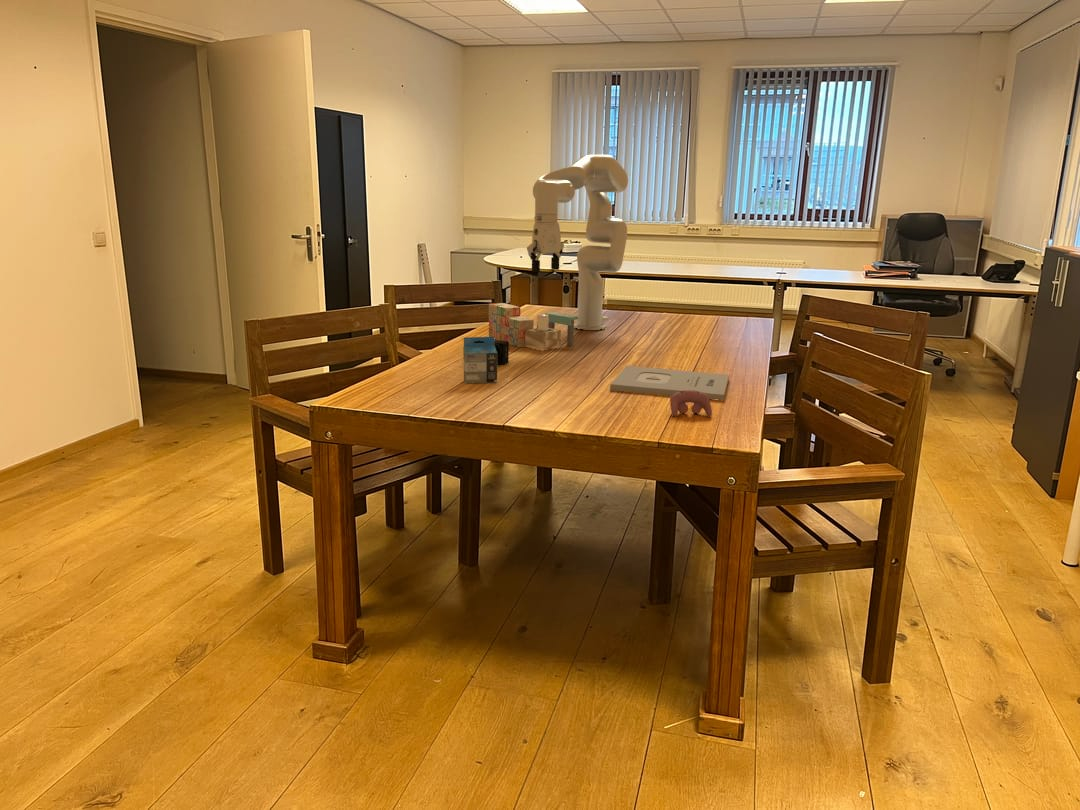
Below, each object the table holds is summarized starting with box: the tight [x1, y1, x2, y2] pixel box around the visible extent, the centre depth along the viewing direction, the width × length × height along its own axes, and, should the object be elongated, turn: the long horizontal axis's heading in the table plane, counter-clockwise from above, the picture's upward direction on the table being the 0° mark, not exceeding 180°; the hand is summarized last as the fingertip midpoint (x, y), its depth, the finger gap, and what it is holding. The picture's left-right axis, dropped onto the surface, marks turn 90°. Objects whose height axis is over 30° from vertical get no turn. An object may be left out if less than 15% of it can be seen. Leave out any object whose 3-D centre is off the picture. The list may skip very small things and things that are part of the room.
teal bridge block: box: [544, 311, 578, 346], centre depth 271 cm, size 4×12×10 cm, turn 46°
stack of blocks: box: [488, 302, 535, 348], centre depth 272 cm, size 21×6×12 cm, turn 31°
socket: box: [524, 327, 562, 352], centre depth 264 cm, size 9×8×6 cm
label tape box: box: [462, 336, 498, 384], centre depth 214 cm, size 9×4×12 cm, turn 105°
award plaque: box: [609, 365, 730, 400], centre depth 217 cm, size 25×30×2 cm
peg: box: [536, 313, 549, 332], centre depth 263 cm, size 4×4×10 cm
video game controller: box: [669, 390, 713, 417], centre depth 189 cm, size 10×5×7 cm, turn 93°
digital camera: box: [474, 339, 510, 366], centre depth 238 cm, size 10×5×7 cm, turn 69°
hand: (545, 270), depth 266 cm, fingers open, 9 cm apart
